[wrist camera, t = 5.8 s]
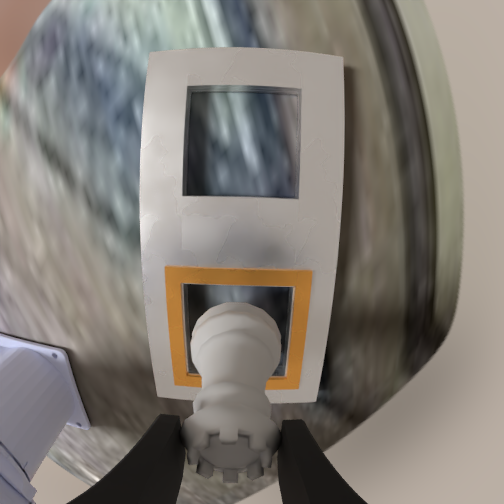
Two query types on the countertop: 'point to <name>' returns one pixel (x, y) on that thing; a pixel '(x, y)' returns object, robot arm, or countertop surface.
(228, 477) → the rook chess piece
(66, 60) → the countertop surface
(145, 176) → the rail plate
